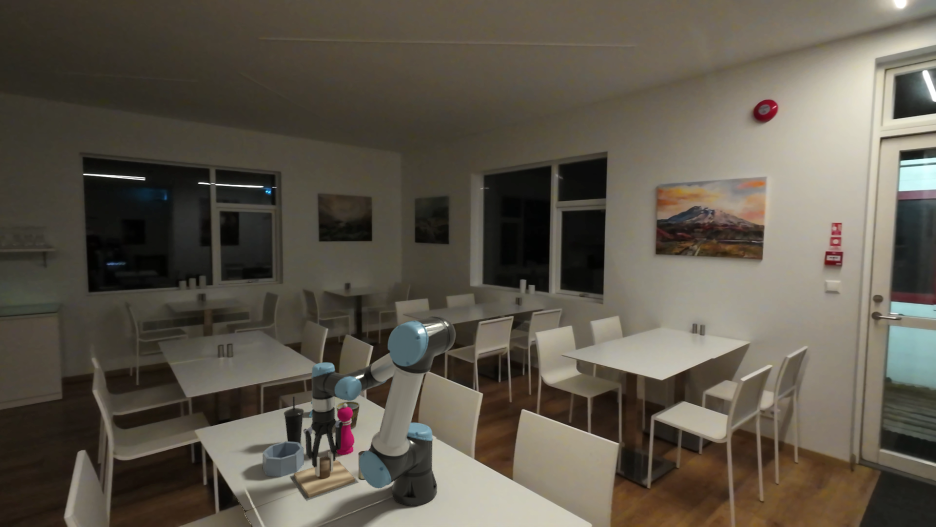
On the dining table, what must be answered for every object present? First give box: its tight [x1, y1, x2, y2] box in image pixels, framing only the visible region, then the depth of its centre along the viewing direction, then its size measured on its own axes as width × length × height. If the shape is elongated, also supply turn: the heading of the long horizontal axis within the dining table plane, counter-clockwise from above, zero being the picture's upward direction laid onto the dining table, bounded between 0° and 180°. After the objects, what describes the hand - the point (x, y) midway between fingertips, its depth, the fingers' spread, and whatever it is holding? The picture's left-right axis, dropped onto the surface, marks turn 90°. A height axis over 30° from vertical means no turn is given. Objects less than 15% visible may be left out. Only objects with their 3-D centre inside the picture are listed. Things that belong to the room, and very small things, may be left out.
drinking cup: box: [283, 396, 305, 444], centre depth 185 cm, size 8×8×20 cm
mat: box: [289, 466, 359, 501], centre depth 159 cm, size 18×18×1 cm
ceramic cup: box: [335, 400, 360, 430], centre depth 200 cm, size 13×10×10 cm
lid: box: [293, 456, 356, 498], centre depth 158 cm, size 16×16×7 cm
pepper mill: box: [336, 403, 355, 456], centre depth 178 cm, size 7×7×20 cm
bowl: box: [262, 440, 305, 478], centre depth 166 cm, size 13×13×7 cm
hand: (324, 472), depth 158 cm, fingers open, 4 cm apart
